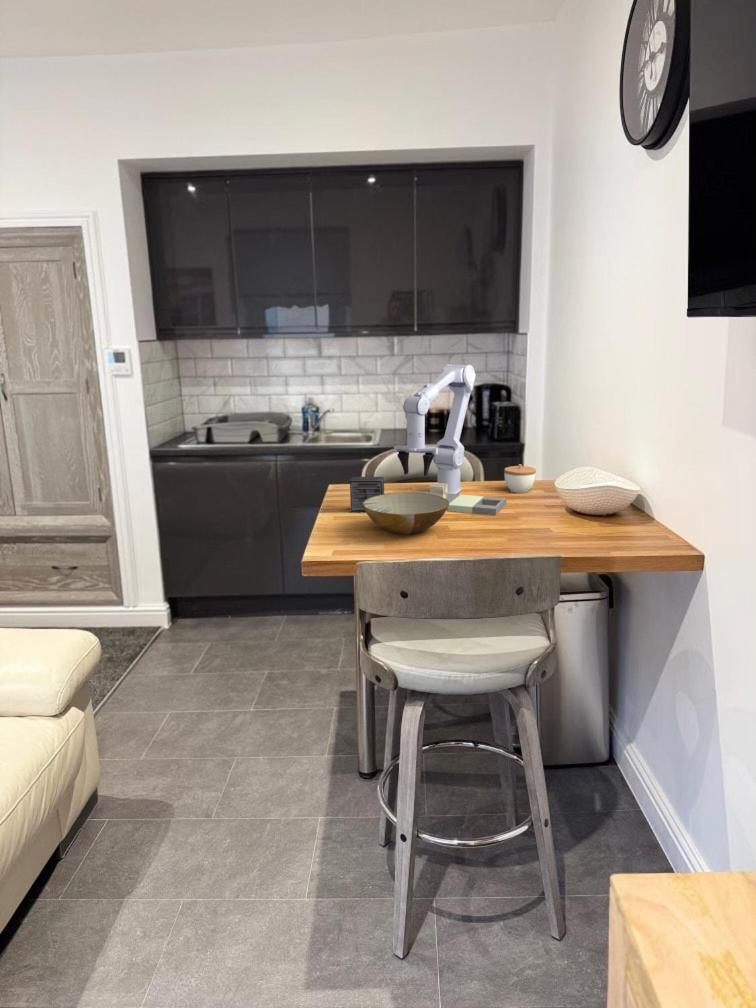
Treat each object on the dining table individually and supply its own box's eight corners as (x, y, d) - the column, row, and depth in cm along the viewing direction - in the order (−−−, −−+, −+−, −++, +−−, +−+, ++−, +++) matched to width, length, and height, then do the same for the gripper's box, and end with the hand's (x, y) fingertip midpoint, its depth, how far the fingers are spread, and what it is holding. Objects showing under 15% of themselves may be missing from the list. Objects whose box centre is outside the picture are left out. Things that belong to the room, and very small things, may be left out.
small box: (385, 507, 234) (384, 475, 232) (383, 512, 228) (382, 480, 225) (352, 507, 235) (352, 475, 233) (350, 512, 229) (349, 480, 227)
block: (434, 496, 239) (434, 482, 238) (447, 497, 238) (447, 483, 236) (429, 499, 235) (429, 485, 234) (443, 500, 234) (443, 486, 232)
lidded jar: (497, 489, 256) (498, 463, 253) (522, 485, 260) (523, 460, 258) (515, 495, 246) (516, 468, 244) (541, 492, 251) (542, 465, 248)
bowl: (459, 538, 200) (459, 511, 198) (369, 545, 196) (369, 516, 194) (437, 515, 224) (437, 490, 222) (357, 520, 220) (356, 494, 218)
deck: (413, 496, 247) (413, 490, 247) (506, 504, 235) (506, 498, 235) (399, 506, 235) (398, 500, 234) (495, 515, 223) (496, 508, 222)
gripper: (390, 434, 233) (391, 475, 237) (433, 436, 228) (433, 478, 231) (398, 431, 240) (398, 471, 243) (440, 433, 234) (440, 474, 238)
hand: (416, 474), depth 238 cm, fingers open, 6 cm apart
